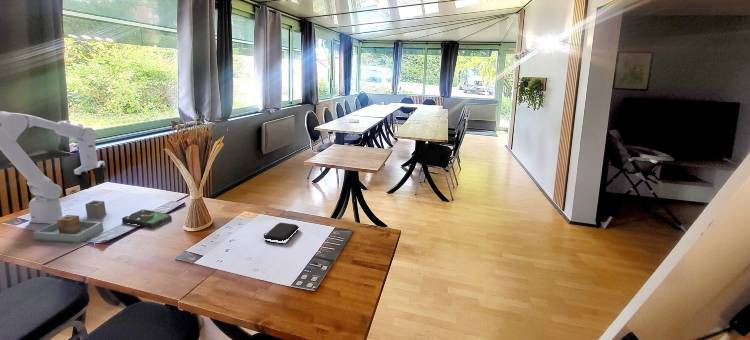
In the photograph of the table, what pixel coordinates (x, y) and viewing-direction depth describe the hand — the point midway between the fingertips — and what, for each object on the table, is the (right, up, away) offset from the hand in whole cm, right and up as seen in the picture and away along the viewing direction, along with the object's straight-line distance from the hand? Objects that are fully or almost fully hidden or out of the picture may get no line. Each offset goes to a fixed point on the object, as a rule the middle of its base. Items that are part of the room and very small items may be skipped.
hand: (92, 185), depth 166 cm
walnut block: (+9, -16, -24) cm, 30 cm away
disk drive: (+29, -15, -9) cm, 33 cm away
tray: (+9, -17, -24) cm, 31 cm away
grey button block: (+7, -12, -7) cm, 16 cm away
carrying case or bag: (+84, -19, -15) cm, 88 cm away
